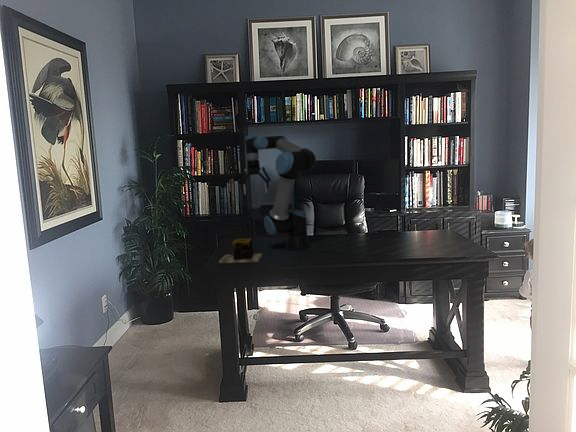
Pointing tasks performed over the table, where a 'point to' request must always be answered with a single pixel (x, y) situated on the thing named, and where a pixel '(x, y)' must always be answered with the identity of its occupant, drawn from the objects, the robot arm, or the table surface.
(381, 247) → the table surface
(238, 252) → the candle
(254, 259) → the birch board
